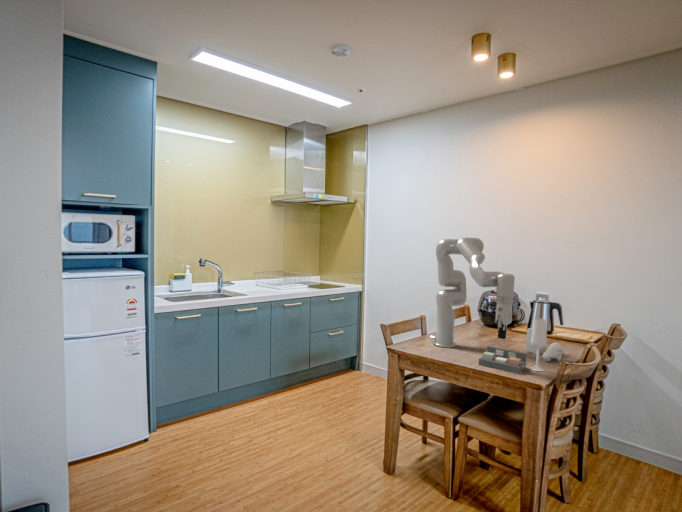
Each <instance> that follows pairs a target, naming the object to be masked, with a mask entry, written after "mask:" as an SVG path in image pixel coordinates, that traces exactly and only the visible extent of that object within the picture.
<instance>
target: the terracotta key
mask: <svg viewBox="0 0 682 512" xmlns="http://www.w3.org/2000/svg"><path fill="white" fill-rule="evenodd" d="M508 364H510V365H515V366H519V365H521V359H519V358H515V357H510V358H509V359H508Z"/></svg>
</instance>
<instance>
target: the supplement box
mask: <svg viewBox="0 0 682 512" xmlns="http://www.w3.org/2000/svg"><path fill="white" fill-rule="evenodd" d="M532 330H533V327H530V328H526V340H525V352H528V351H529V353H531V352H532V354H534V353H535V355H537V349H536V348H535V347H534V346H533V345H532V343H531V337H532ZM547 335H548V330H547V329H546V338H547V337H548V336H547ZM546 350H547V345H546V346H545V347H543V348H542V349H540V353H541V354H544V353H545V352H546ZM540 353H539V355H540Z"/></svg>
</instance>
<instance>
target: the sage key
mask: <svg viewBox="0 0 682 512" xmlns="http://www.w3.org/2000/svg"><path fill="white" fill-rule="evenodd" d="M481 357H482V358H483V359H488V360H493V359H495V353H490V352H487V351H484V352H483V353H482V356H481Z"/></svg>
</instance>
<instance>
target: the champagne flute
mask: <svg viewBox="0 0 682 512" xmlns="http://www.w3.org/2000/svg"><path fill="white" fill-rule="evenodd" d="M546 321H547V319H545V318H543V317H535V318H534V319H533V323H532V325H533V326H532V328H533V330H532V337H531V343H532V345H533V346H534V347H535V348H536V349H537V354H536V356H535V357H536V361H535V365H533V366H531V367H529V368H530V369H532V370H537V371H544V370H545V369H544V368H543V367H541V366H539V365H540V354H539V353H540V349H542V348H543V347H545V346H546V347H547V343H548V342H547V341H548V340H547V338H546V330H547V323H546ZM530 369H529V370H530ZM532 370H531V371H532Z"/></svg>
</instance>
